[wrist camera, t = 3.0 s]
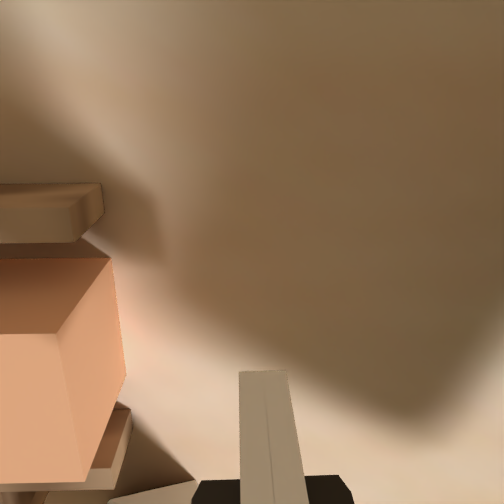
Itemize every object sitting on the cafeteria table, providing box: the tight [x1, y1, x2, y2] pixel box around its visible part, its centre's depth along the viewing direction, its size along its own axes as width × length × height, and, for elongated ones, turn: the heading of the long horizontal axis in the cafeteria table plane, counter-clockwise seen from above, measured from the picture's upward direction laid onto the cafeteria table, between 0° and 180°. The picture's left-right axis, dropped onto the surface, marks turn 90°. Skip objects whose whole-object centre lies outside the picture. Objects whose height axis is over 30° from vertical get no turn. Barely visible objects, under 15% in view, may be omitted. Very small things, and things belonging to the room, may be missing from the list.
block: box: [0, 258, 126, 484], centre depth 17 cm, size 6×6×6 cm
